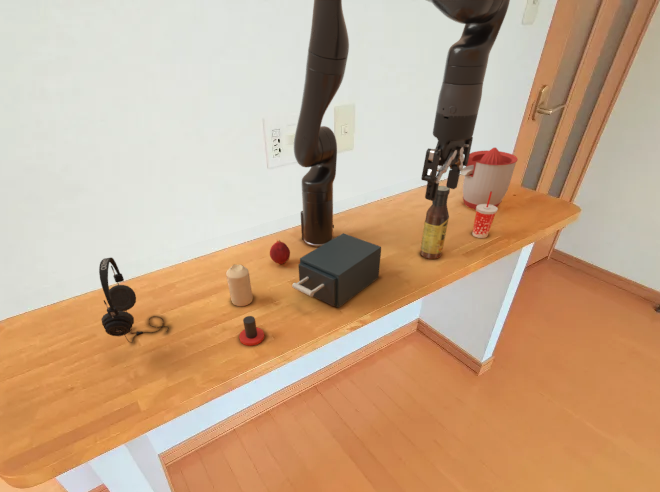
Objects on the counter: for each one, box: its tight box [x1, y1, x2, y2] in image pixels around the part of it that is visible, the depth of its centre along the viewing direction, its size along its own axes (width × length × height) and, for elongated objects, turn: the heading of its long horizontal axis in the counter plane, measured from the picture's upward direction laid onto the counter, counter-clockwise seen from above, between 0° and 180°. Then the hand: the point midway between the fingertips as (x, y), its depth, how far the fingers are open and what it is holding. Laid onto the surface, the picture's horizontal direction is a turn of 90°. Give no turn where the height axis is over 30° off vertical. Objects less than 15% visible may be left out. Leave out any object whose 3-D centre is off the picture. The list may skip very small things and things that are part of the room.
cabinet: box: [299, 232, 382, 308], centre depth 100 cm, size 18×13×10 cm
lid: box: [239, 315, 265, 347], centre depth 86 cm, size 6×6×5 cm
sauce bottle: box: [420, 185, 451, 260], centre depth 107 cm, size 7×6×20 cm
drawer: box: [291, 262, 337, 307], centre depth 98 cm, size 22×11×8 cm, turn 138°
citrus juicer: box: [460, 147, 519, 211], centre depth 134 cm, size 16×17×20 cm
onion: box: [269, 238, 291, 265], centre depth 110 cm, size 6×6×8 cm
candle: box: [225, 263, 254, 307], centre depth 96 cm, size 6×6×10 cm
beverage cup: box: [471, 191, 499, 239], centre depth 118 cm, size 6×6×14 cm
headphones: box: [98, 256, 170, 344], centre depth 83 cm, size 15×11×20 cm
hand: (440, 193), depth 82 cm, fingers open, 8 cm apart
